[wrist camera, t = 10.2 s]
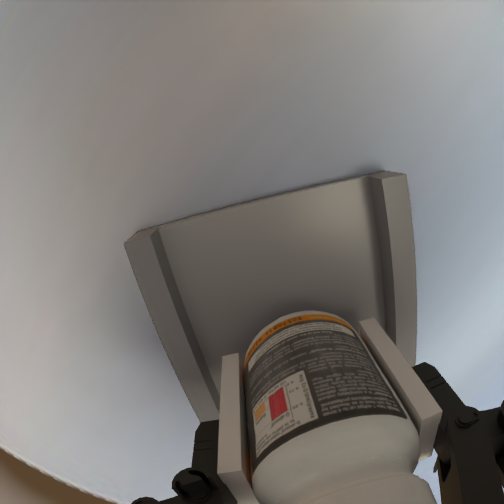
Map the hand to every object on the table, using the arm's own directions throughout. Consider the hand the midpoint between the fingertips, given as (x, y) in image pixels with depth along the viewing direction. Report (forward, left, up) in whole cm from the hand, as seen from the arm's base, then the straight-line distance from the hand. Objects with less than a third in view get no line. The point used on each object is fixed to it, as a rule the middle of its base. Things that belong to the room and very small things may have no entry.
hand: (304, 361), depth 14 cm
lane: (+6, 0, -2) cm, 6 cm away
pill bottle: (0, 0, -1) cm, 1 cm away
